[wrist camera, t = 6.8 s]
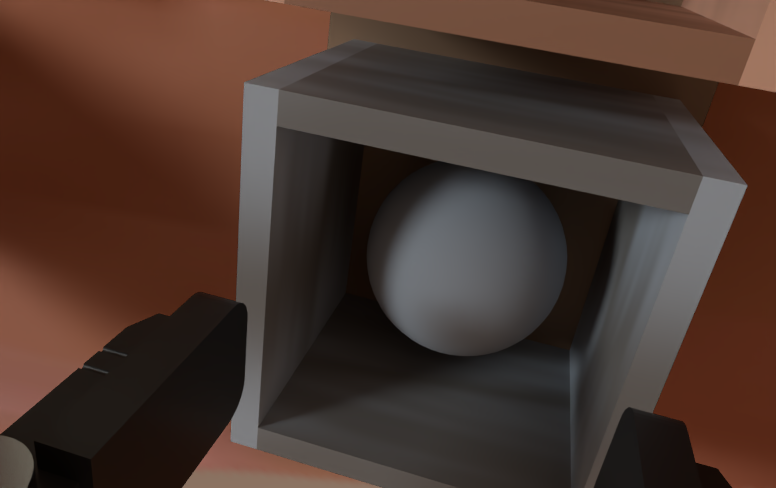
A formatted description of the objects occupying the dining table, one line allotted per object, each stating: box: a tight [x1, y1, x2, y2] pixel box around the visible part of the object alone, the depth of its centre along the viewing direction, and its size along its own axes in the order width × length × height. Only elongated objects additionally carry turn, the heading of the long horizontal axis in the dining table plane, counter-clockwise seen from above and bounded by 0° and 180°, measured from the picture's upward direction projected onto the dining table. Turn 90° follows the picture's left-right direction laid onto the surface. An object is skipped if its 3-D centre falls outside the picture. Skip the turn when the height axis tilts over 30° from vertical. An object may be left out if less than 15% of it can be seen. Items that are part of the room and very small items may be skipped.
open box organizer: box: [231, 0, 776, 488], centre depth 12 cm, size 18×9×7 cm, turn 172°
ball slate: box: [367, 161, 567, 356], centre depth 15 cm, size 4×4×4 cm
